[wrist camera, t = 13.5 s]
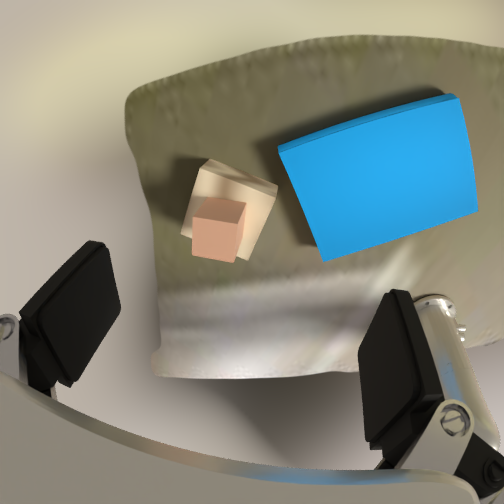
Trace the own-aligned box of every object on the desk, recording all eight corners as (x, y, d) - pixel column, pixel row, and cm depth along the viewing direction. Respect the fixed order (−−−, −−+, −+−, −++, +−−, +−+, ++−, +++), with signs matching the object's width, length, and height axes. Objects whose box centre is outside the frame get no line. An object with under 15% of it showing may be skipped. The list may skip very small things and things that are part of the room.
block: (246, 202, 37) (237, 224, 32) (242, 237, 40) (233, 262, 34) (207, 196, 37) (192, 216, 32) (205, 231, 40) (192, 255, 35)
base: (278, 184, 40) (276, 198, 36) (252, 242, 46) (247, 260, 41) (210, 158, 39) (199, 168, 35) (191, 218, 45) (180, 233, 41)
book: (479, 210, 33) (324, 265, 41) (466, 199, 37) (322, 249, 45) (457, 92, 26) (275, 150, 34) (442, 90, 29) (276, 144, 37)
